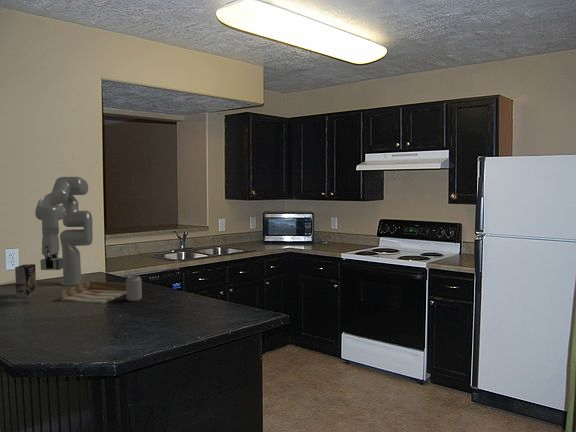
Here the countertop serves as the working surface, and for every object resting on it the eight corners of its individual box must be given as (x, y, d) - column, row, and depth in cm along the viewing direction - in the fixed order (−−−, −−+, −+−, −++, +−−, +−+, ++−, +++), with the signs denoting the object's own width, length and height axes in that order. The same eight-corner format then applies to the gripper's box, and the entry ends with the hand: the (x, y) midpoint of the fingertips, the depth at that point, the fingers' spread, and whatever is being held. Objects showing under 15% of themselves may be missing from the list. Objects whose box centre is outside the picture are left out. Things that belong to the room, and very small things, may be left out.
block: (45, 268, 257) (44, 258, 257) (63, 267, 257) (63, 258, 257) (40, 270, 252) (40, 260, 252) (59, 269, 252) (58, 259, 252)
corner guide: (89, 290, 278) (89, 281, 278) (129, 292, 273) (129, 283, 272) (60, 301, 255) (60, 291, 254) (103, 303, 249) (102, 293, 249)
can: (144, 298, 260) (143, 274, 259) (138, 301, 252) (137, 277, 252) (130, 297, 261) (129, 274, 260) (123, 301, 253) (123, 277, 252)
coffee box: (28, 298, 262) (26, 267, 261) (15, 298, 262) (14, 267, 261) (37, 293, 271) (35, 263, 270) (25, 293, 271) (23, 264, 270)
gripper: (50, 229, 261) (51, 264, 263) (34, 233, 244) (36, 270, 246) (65, 229, 262) (66, 264, 263) (50, 233, 245) (52, 270, 246)
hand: (52, 267), depth 255 cm, fingers closed on block, 5 cm apart
